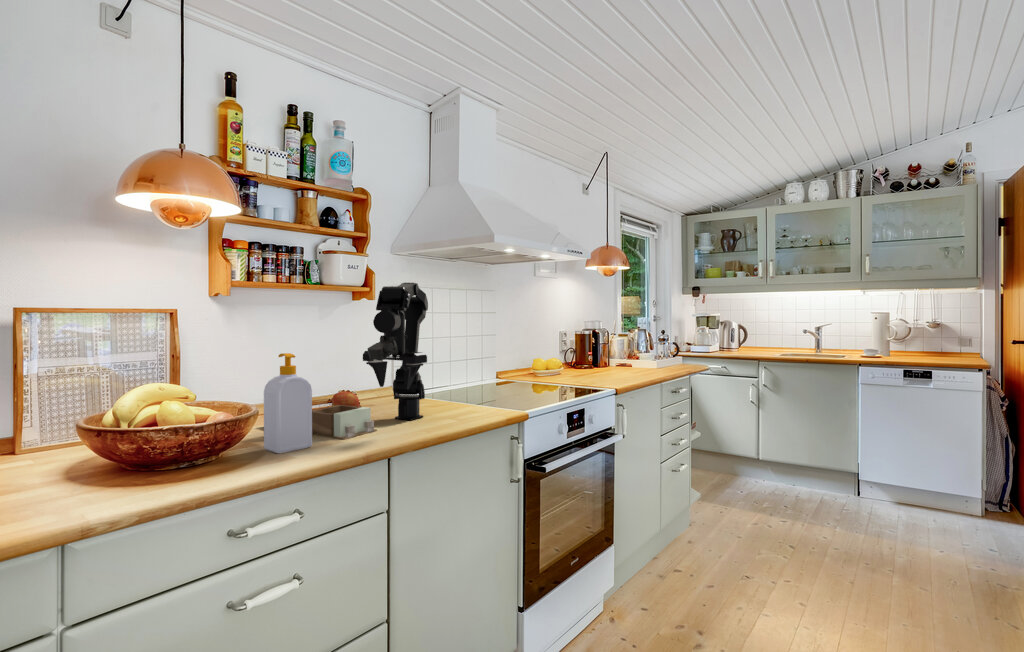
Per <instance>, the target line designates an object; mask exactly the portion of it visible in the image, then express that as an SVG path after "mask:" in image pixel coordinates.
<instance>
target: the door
mask: <svg viewBox="0 0 1024 652" xmlns="http://www.w3.org/2000/svg"><path fill="white" fill-rule="evenodd" d="M361 407H362V406H361ZM371 417H372V416H371V407H367V406H363V407H362V408H357V409H353V410H348V411H343V412H339V413H334V436H336V437H343V436H345V427H346V426H350V425H355V433H358V432H362V431H364V422H366V421H370V420H371Z"/></svg>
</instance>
